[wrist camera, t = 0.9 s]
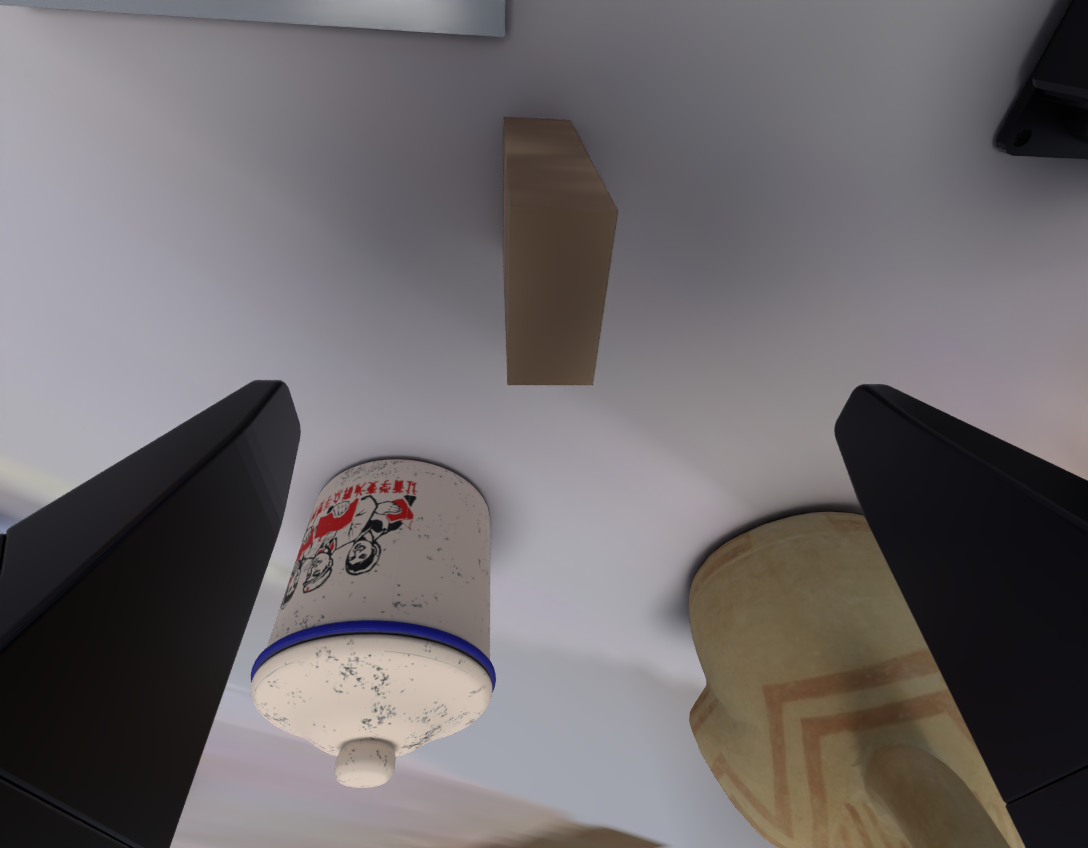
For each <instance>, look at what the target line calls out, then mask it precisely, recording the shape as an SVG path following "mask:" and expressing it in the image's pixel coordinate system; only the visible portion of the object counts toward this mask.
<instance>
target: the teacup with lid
mask: <svg viewBox="0 0 1088 848" xmlns="http://www.w3.org/2000/svg"><path fill="white" fill-rule="evenodd" d="M495 682H496V676H495V671H494V667H493V665H492V663H491V661H490V514H489V510H488V507H487V505H486V503H485V501H484V499H483V497H482V496H481V495H480V493H479V492H478V491H477V490H476V489H475V488H474V487H473V486H472V485H471V484H470V483H469V482H467V481H466V480H465V479H463V478H462V477H460V476H459V475H457V474H455V473H453V472H451V471H449V470H447V469H444V468H442V467H439V466H436V465H433V464H429V463H425V462H420V461H414V460H401V459H392V460H379V461H374V462H369V463H365V464H361V465H358V466H355V467H353V468H350V469H348V470H346V471H344V472H342V473H341V474H339V475H338V476H336V477H335V478H333V479H332V480H331V481H330V482H329V483H328V484H327V485H326V486H325V487H324V488H323V489H322V491H321V493H320V494H319V496H318V498H317V500H316V503H315V506H314V509H313V512H312V515H311V518H310V521H309V524H308V526H307V529H306V532H305V535H304V538H303V541H302V544H301V547H300V550H299V553H298V556H297V559H296V562H295V565H294V568H293V571H292V574H291V577H290V580H289V583H288V586H287V589H286V592H285V595H284V598H283V601H282V604H281V607H280V610H279V613H278V616H277V618H276V621H275V624H274V627H273V630H272V634H271V636H270V639H269V642H268V646H267V648H266V649H265V650H264V651H263V652H262V653H261V654H260V655H259V656H258V658H257V659H256V661H255V663H254V665H253V667H252V672H251V683H252V684H251V693H252V697H253V701H254V704H255V706H256V708H257V709H258V711H259V712H260V713H261V715H262V716H263V717H264V718H266V719H267V720H268V721H269V722H270V723H272V724H273V725H275V726H276V727H278V728H280V729H282V730H284V731H286V732H288V733H290V734H293V735H296V736H298V737H301V738H305V739H308V740H309V741H310V742H311V743H312V744H313V745H314V746H316V747H317V748H319V749H321V750H322V751H324V752H326V753H328V754H331V755H334V756H337V759H336V764H335V776H336V778H337V780H338V781H339V783H341V784H343V785H345V786H349V787H355V788H369V787H375V786H379V785H382V784H384V783H385V782H387V781H388V780H389V778H390V777H391V776H392V774H393V772H394V767H395V759H396V757H398V756H402V755H405V754H408V753H410V752H412V751H414V750H416V749H418V748H420V747H421V746H423V745H424V744H426V743H427V742H429V741H433V740H436V739H440V738H443V737H446V736H449V735H451V734H453V733H456V732H458V731H460V730H462V729H464V728H465V727H467V726H468V725H470V724H471V723H473V722H474V721H475V720H476V719H478V717H480V715H481V714H482V713H483V712H484V710H485V709H486V707H487V705H488V704H489V702H490V699H491V697H492V693H493V690H494V687H495Z"/></svg>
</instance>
